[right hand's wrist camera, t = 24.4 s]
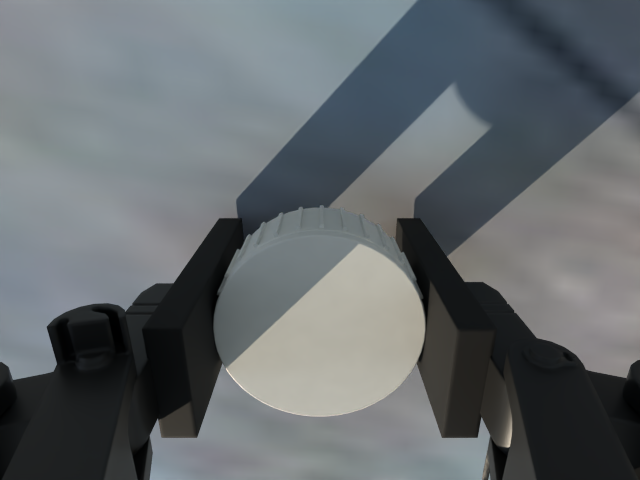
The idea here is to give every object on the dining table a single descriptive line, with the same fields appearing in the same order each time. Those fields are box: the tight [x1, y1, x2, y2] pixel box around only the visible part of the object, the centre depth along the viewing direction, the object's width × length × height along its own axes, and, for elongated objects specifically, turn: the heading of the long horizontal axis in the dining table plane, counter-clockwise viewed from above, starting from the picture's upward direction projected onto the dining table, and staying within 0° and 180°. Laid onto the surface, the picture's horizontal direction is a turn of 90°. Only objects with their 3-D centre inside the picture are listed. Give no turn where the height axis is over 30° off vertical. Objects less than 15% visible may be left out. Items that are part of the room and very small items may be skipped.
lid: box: [213, 205, 426, 416], centre depth 11 cm, size 5×5×2 cm
